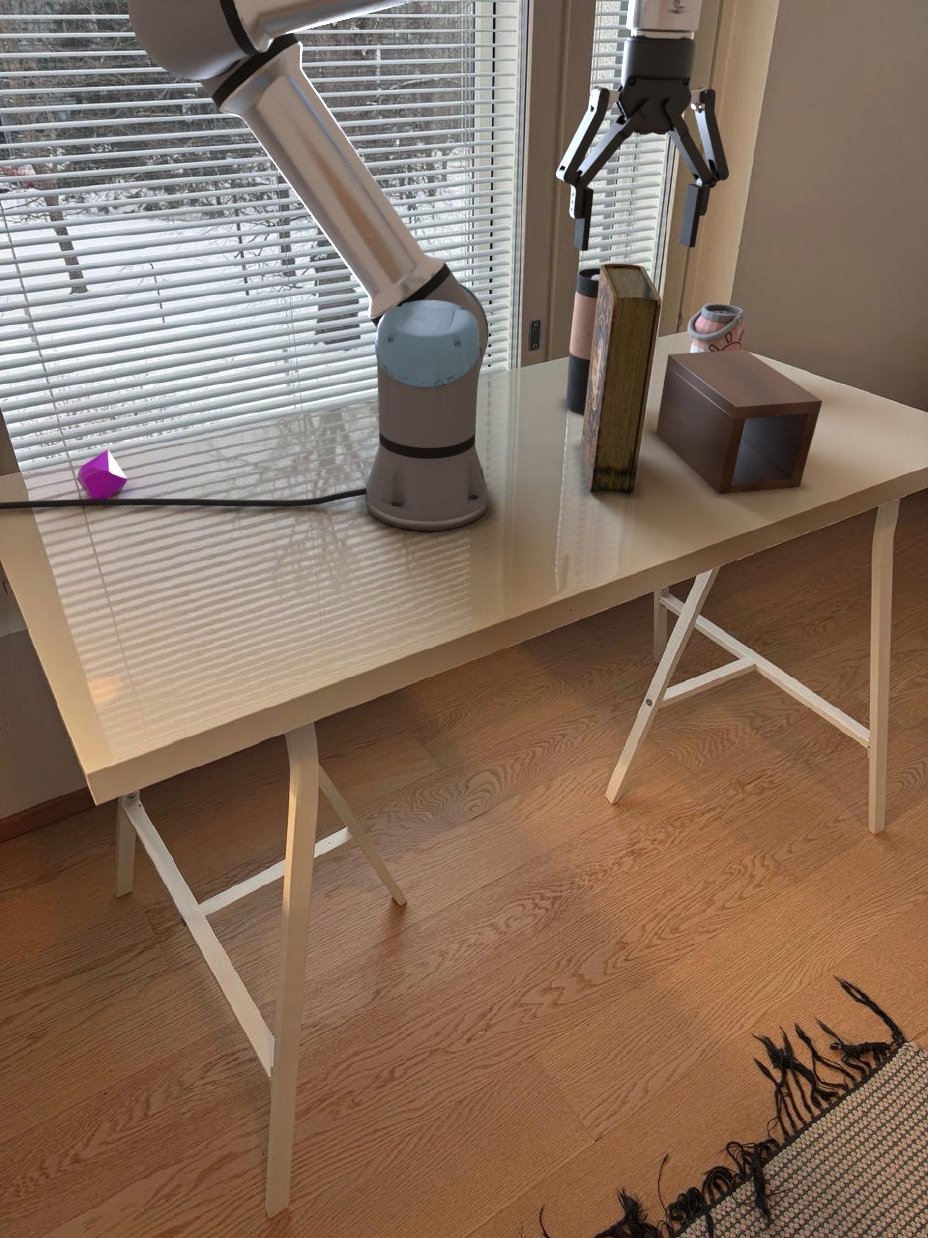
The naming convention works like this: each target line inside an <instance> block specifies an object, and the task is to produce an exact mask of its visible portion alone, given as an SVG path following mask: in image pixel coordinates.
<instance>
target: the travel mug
mask: <svg viewBox="0 0 928 1238" xmlns="http://www.w3.org/2000/svg"><path fill="white" fill-rule="evenodd" d="M600 269H601V267H594V268H591V267H590V268H585V269H581V270H579V271H578V272H577V277H576V287H575V293H574V294H575V296H574V303H573V304H574V305H573V312H572V313H573V314H572V324H571V332H570V333H571V334H570V342H569V354H568V367H567V368H568V369H567V381H566V400H565V401H566V402H565V405H566V408H567V409H568V410H570V411H572V412H574V413H577V414H581V415H584V414H585V405H586V396H587V387H588V378H589V368H590V359H591V350H592V341H593V332H594V323H595V314H596V305H597V296H598V287H599V278H600Z"/></svg>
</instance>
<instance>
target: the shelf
mask: <svg viewBox="0 0 928 1238" xmlns="http://www.w3.org/2000/svg"><path fill="white" fill-rule="evenodd" d="M659 404H660V405H659V411H658V417H657V423H656V428H655V429H656V430H655V435H656V436H657V437H658V438H660V439H661V440H662V442H664V443H665V444H666V445H667V446H668V447H669V448H670V449H671V450H672V451H673V452H674V453H675V454H676V455H677V456H678V457H679V458H680V459H681V460H682V461H683V462H685V464H686V465H687V466H689V467H690V468H691V470H693V471H694V472H695V473H696V474H697V475H698V476H699V477H700V478H701V479H702V480H703V481H704V482H705V483H706V484H708V485H709V486H710V487H711V489H713V490H714V491H715V492H716V494H718V495H724V494H725V495H726V494H735V493H745V492H746V493H747V492H757V491H766V490H768V491H769V490H777V489H778V490H779V489H787V488H797V487H798V488H799V487H801V485H802V484H801V483H802V480H803V476H804V473H805V468H806V465H807V460H808V457H809V454H810V449H811V446H812V442H813V438H814V434H815V431H816V426H817V423H818V419H819V415H820V412H821V407H822V405H823V400H822V399H820V398H819V397H817V396H816V395H815V394H813V393H812V392H810V391H809V390H807V389H805V388H804V387H802V386H801V385H799V384H798V383H797V382H795V381H793V380H792V379H791V378H789V377H787V376H786V375H784V374H782V373H781V372H780V371H778V370H776V369H775V368H773V367H772V366H771V365H769V364H767V363H766V362H764V361H763V360H761V359H760V358H758V357H756V356H755V355H754V354H752V353H751V352H749V351H748V350H747V349H741V350H732V351H715V352H698V353H690V352H683V353H682V352H681V353H668V354H667V360H666V367H665V373H664V380H663V386H662V391H661V398H660V403H659Z"/></svg>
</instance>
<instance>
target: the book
mask: <svg viewBox="0 0 928 1238" xmlns="http://www.w3.org/2000/svg"><path fill="white" fill-rule="evenodd" d="M600 268H601V269H600V278H599V287H598V296H597V305H596V314H595V323H594V332H593V341H592V350H591V359H590V368H589V378H588V387H587V396H586V405H585V414H583V424H582V431H581V440H580V441H581V442H580V450H581V451H580V452H581V455H582V461H583V465H584V470H585V476H586V481H587V485H588V488H589V489H588V490H589V492H590V493H594V492H597V491H603V490H604V491H605V490H606V491H607V490H608V491H609V490H611V491H618V492H622V493H628V494H633V493H634V490H635V484H636V479H637V472H638V466H639V465H638V464H639V458H640V451H641V444H642V440H643V439H642V437H643V432H644V423H645V418H646V412H647V411H646V410H647V404H648V399H649V398H648V397H649V390H650V383H651V377H652V371H653V364H654V357H655V352H656V351H655V350H656V344H657V339H658V338H657V337H658V330H659V324H660V317H661V310H662V297H661V295H660V293H659V292H658V289H657V288H656V286H655V285H654V283H653V281H652V279H651V278H650V276H649V273H648V272H647V270H646V268H645V266H642V265H637V264H630V263H604V264H601V265H600Z"/></svg>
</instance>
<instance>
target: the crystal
mask: <svg viewBox="0 0 928 1238" xmlns="http://www.w3.org/2000/svg"><path fill="white" fill-rule="evenodd" d="M76 480H77V482H78V483H79V484H80V486H81V488H82V489H83V490H84V492H85V493H86V494H87V496H88V497H89V499H111V497H113V496H115V495H116V494H117V493H119V492H120V491H122V490H123V488H124V487H125V485H126V484H127V482H128V478H127V476H126V475H125V473H124V472H123V470H122V469H121V467H120V466H119V463H118V462H117V461H116V459H115V458H114V456H113V455H112V453H111V452H110V451H109V449H106V450H104V451H103V452H102V453H100V454H99V455H97V456H96V457H94V458H93V459H91V460H89V461H88V462H86V463H84V464H83V465H81V467H80V468H79V469H78V473H77V476H76ZM95 507H98V506H95Z"/></svg>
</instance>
